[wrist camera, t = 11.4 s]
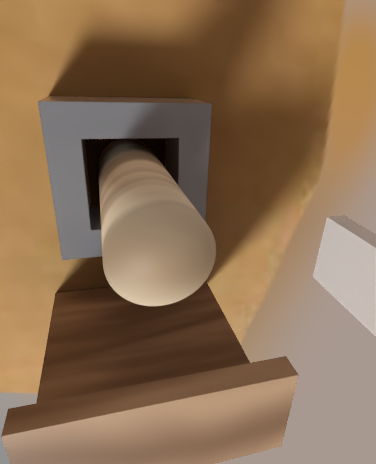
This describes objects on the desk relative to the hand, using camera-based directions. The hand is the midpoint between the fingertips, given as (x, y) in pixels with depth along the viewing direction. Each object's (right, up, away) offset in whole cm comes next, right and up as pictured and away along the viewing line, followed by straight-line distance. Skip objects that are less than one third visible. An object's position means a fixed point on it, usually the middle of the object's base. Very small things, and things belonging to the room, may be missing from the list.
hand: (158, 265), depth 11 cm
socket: (-4, +6, +13) cm, 15 cm away
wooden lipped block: (-4, -3, +18) cm, 18 cm away
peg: (-3, +6, +13) cm, 15 cm away
